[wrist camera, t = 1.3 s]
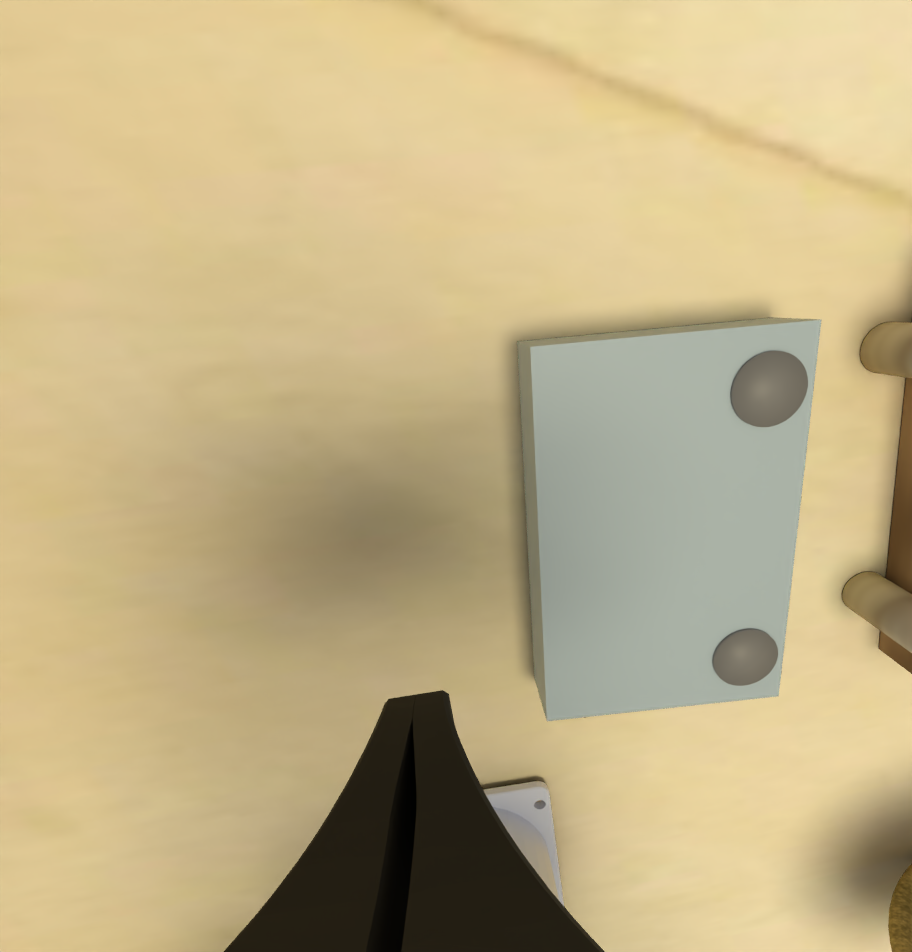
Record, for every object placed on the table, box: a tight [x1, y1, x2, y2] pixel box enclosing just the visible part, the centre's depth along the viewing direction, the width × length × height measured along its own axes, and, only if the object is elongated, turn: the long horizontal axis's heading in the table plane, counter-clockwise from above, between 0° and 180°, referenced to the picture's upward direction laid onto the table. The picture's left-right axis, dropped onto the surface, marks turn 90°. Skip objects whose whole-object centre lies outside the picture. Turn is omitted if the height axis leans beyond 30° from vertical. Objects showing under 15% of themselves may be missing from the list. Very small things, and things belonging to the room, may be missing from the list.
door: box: [517, 318, 821, 721], centre depth 20 cm, size 14×9×3 cm, turn 5°
